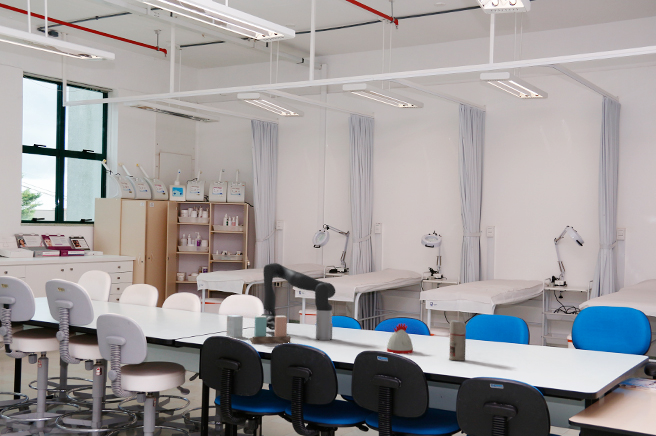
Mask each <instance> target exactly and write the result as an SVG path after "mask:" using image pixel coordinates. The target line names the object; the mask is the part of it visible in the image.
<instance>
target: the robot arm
mask: <svg viewBox="0 0 656 436" xmlns="http://www.w3.org/2000/svg"><path fill="white" fill-rule="evenodd" d="M262 272H263V273H262V274H263V283H264V284H263V287H264V301H263V309H264V311H267V312H270V313H261V315H260V316H266V317H267V325H266V328H268V329H269V330H271V331H275V316H277V314H276V293H275V291H274V287H273V279H275V278H276V279H277V278H279V279H283V280H284V281H287V283H289V285H291V286H292V287H294V288H297V289H300V290H304V291H310V292H314V302H315V307H316V313H315V314H316V317H315V318H316V319H315V321H316V322H315V323H316V324H315V340H318V339H319V341H328V340H330V339H332V340H333V323H332V321H333V320H332V319H333V307H332V305H331V304H330V303H329V299H331V298H332V297H334V296H335V294H336V288H335V286H334V285H333V284H332V283H330V282H325V281H321V280H319V279H316V278H314V277H311V276H309V275H307V274H305V273H302V272H299V271H296V270H294V269H289V268H287V267H285V266H283V265H282V264H280V263H278V262H273V263H272V262H271V263H266V264H265V265H264V267H263V271H262ZM330 341H331V340H330Z"/></svg>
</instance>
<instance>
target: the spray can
mask: <svg viewBox="0 0 656 436" xmlns="http://www.w3.org/2000/svg"><path fill="white" fill-rule="evenodd" d="M466 335H467V328H466V323H465V322H464V321H461V320H453V319H451V320H450V322H449V358H448V359H449V360H452V361H466V347H467V346H466V341H467V340H466V337H467V336H466Z"/></svg>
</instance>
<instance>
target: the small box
mask: <svg viewBox="0 0 656 436" xmlns="http://www.w3.org/2000/svg"><path fill="white" fill-rule="evenodd" d="M243 320H244V318H243V316H242V315H238V314H229V315H228V314H227V315H226V337H229V336H230V337H229V338H233V337H234V338H243V324H244V323H243V322H244V321H243Z"/></svg>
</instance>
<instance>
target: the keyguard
mask: <svg viewBox="0 0 656 436" xmlns="http://www.w3.org/2000/svg"><path fill="white" fill-rule="evenodd" d="M249 341H250V343H251V344H253V345H254V344H257V345H258V344H259V345H260V344H262V345H263V344H264V345H265V344H268V345H269V344H275V345H276V344H291V336H290V335H287V336H275V335H273V336H270V335H269V336H268V335H266V336H265V337H254V336H252V337H249ZM288 342H289V343H288Z"/></svg>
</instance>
